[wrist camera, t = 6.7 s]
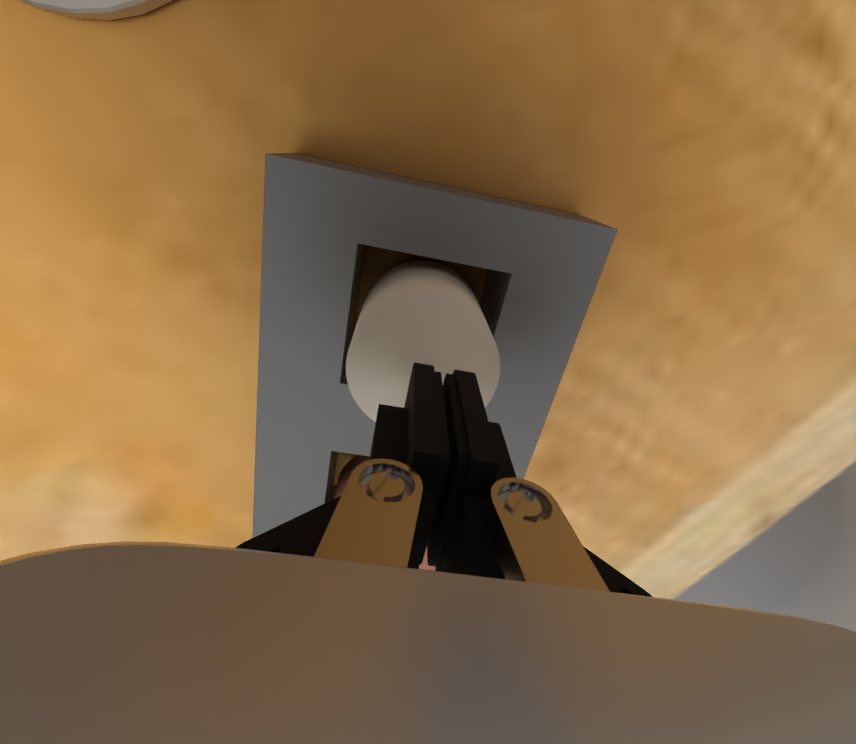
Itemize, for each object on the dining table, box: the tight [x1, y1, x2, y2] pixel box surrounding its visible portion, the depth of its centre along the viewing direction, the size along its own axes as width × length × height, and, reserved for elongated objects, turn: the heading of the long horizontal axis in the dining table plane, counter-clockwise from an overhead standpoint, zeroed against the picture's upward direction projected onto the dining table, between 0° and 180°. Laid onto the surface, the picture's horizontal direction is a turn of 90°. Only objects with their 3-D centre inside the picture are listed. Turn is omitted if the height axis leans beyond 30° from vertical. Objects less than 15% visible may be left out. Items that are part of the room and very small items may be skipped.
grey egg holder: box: [253, 153, 617, 538], centre depth 23 cm, size 28×12×4 cm, turn 169°
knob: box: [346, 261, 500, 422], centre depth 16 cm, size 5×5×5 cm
